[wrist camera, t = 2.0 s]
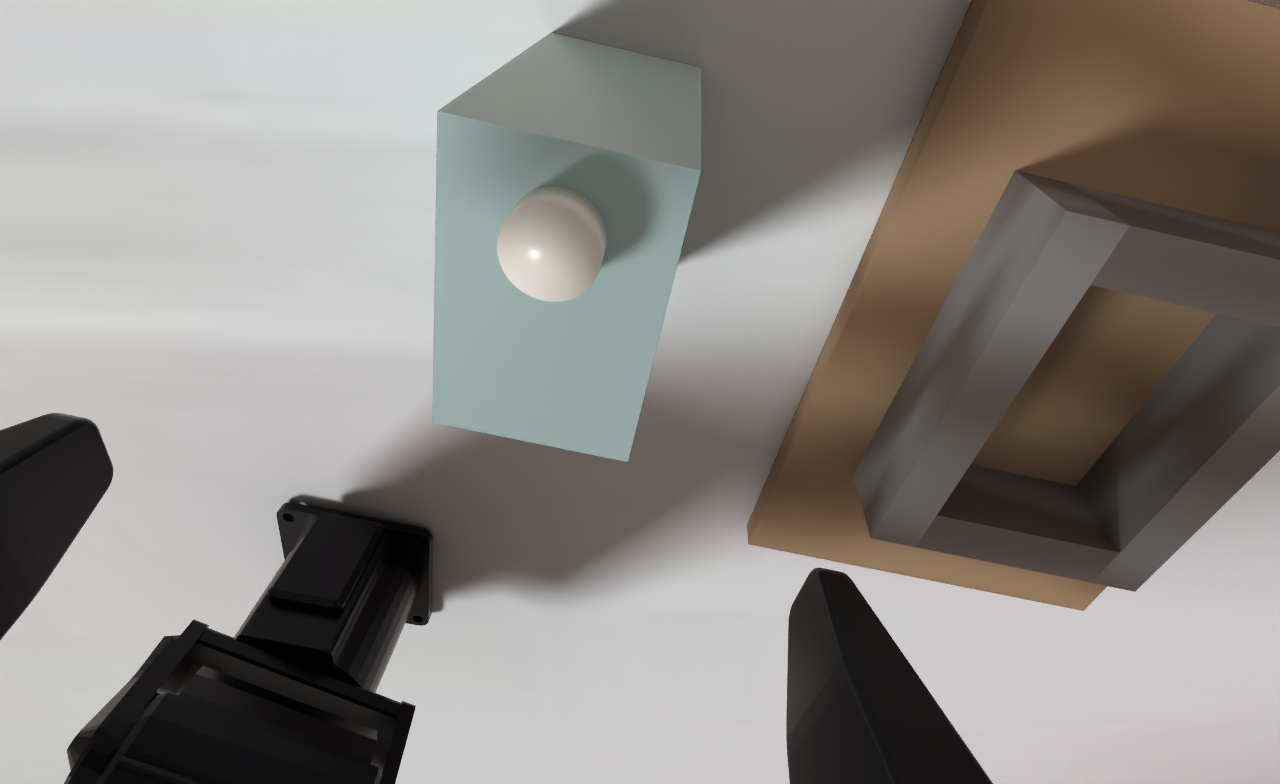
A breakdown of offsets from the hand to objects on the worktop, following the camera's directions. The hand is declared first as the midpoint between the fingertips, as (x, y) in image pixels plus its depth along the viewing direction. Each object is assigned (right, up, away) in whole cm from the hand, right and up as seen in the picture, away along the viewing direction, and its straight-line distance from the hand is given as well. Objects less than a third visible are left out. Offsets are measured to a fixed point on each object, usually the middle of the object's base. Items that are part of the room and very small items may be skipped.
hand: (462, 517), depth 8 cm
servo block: (+1, +8, +11) cm, 13 cm away
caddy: (+15, +3, +13) cm, 20 cm away
